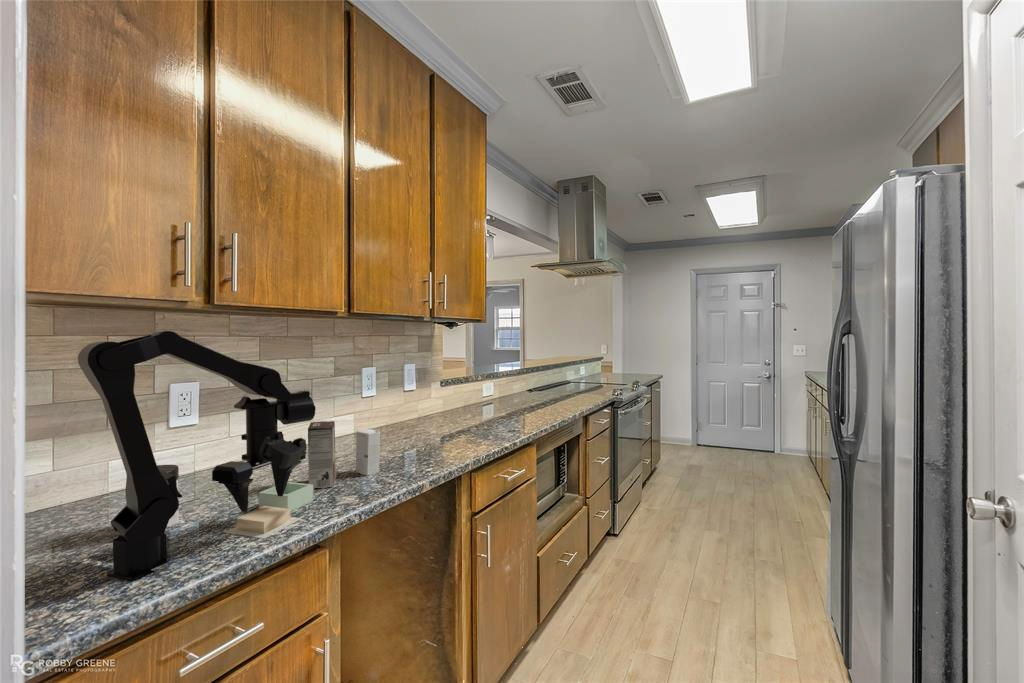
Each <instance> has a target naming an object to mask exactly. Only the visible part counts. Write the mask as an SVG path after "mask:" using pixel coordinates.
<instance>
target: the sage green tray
mask: <svg viewBox="0 0 1024 683" xmlns="http://www.w3.org/2000/svg"><path fill="white" fill-rule="evenodd" d="M313 502H314V489H313V484H309V483H302V482H301V483H300V482H291V481H288V482H287V485H286V488H285V491H284V494H283V496H278V495H277V492H276V488H275V485H274V486H271V487H269V488H267V489H264V490H262V491H260V492H258V508H261V507H263V506H269V507H277V508H285V509H291V513H292V512H294V511H296V510H298V509H300V508H302V507H304V506H306V505H308V504H310V503H313Z"/></svg>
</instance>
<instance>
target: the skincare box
mask: <svg viewBox="0 0 1024 683" xmlns="http://www.w3.org/2000/svg"><path fill="white" fill-rule="evenodd" d="M355 433H356V434H355V435H356V441H355V444H356V445H355V472H356V473H357V474H361V475H363V476H367V477H369V476H371V475H376V474H379V473H380V452H381V450H380V449H381V448H380V447H381V431H378V430H376V429H369V428H366V429H359V430H358V431H356V432H355Z"/></svg>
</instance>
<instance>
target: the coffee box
mask: <svg viewBox="0 0 1024 683" xmlns="http://www.w3.org/2000/svg"><path fill="white" fill-rule="evenodd" d="M335 423H336V421H335V420H331V421H323V420H321V421H312V422H310V423H309V425H308V428H307V452H308V453H307V457H308V458H307V460H308V464H307V465H308V484H313V490H315V489H314V488H322V489H328V488H327V487H332V488H334V487H335V484H336V478H337V477H336V475H337V474H336V473H337V471H336V470H337V468H336V466H337V464H336V433H335V432H336V429H335V428H336V427H335V425H336V424H335ZM325 487H326V488H325Z"/></svg>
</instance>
